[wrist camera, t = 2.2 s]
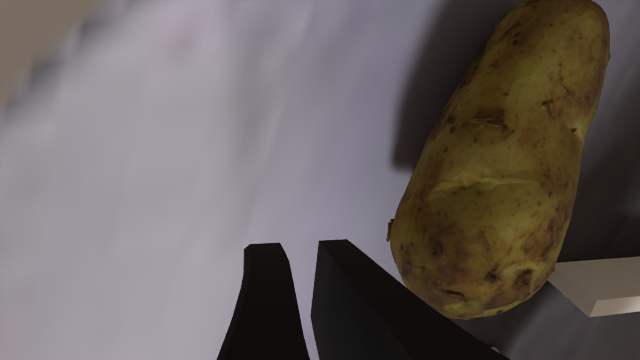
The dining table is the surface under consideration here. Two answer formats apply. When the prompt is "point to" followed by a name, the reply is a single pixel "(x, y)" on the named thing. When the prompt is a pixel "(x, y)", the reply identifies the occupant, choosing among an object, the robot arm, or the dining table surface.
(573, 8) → the potato
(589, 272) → the corral
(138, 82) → the dining table surface
